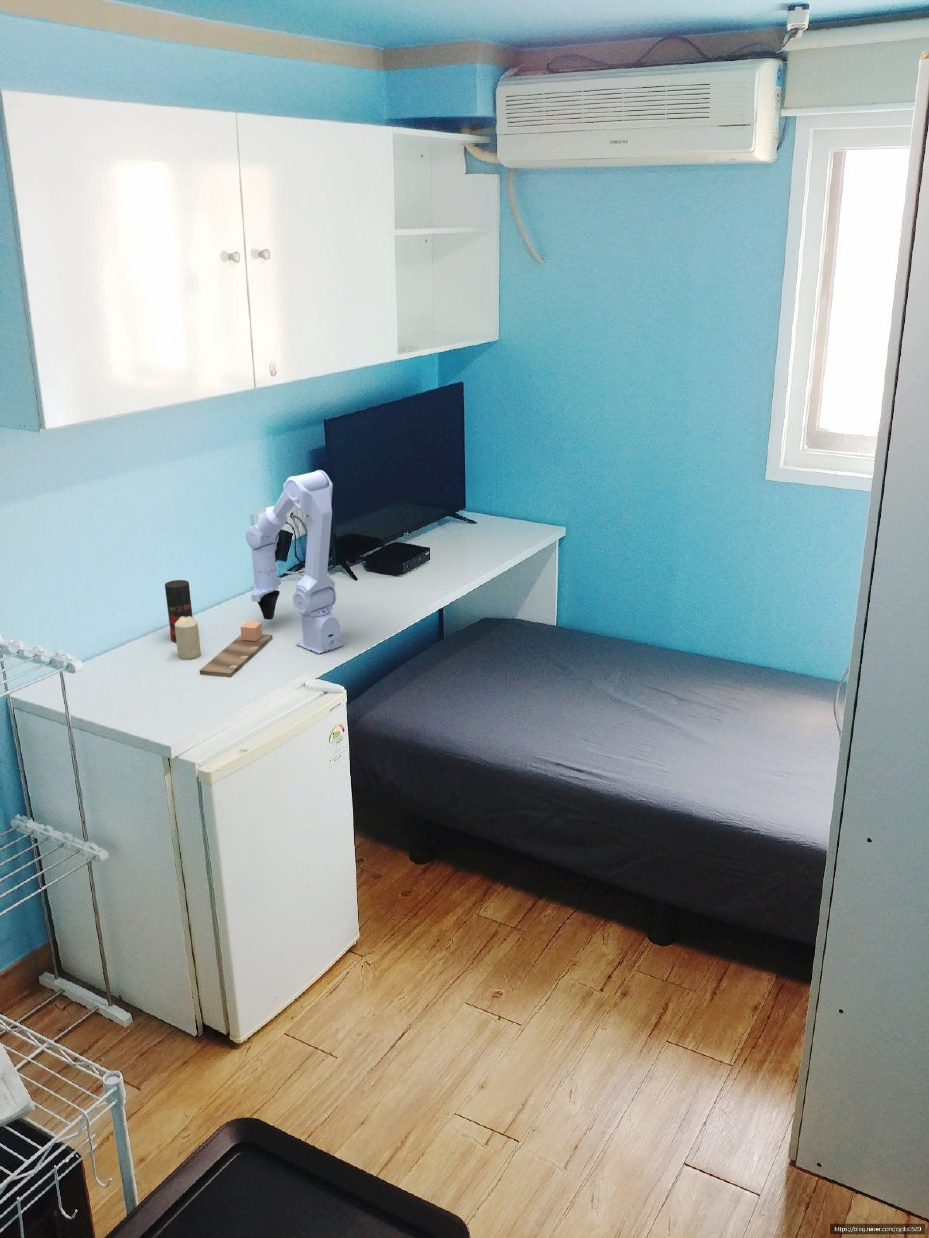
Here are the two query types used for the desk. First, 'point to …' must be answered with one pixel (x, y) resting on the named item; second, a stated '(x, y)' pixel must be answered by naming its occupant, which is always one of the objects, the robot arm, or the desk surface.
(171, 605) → the deodorant
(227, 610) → the desk surface
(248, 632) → the peach colored cube
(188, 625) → the candle
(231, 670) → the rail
